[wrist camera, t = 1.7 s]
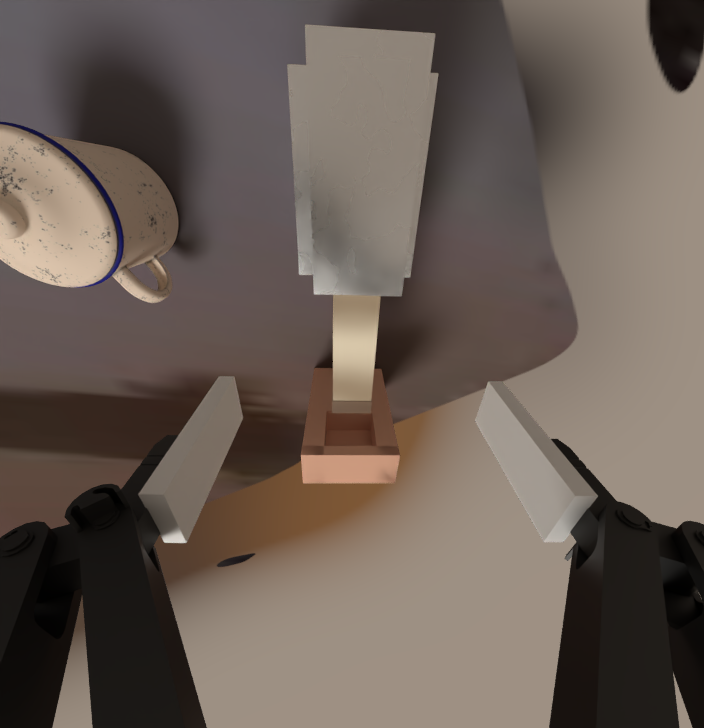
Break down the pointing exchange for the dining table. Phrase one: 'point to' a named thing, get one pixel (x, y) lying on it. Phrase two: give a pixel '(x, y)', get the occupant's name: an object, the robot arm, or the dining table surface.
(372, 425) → the socket block
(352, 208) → the sleeve
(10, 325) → the dining table surface
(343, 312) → the bar
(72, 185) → the teacup with lid
